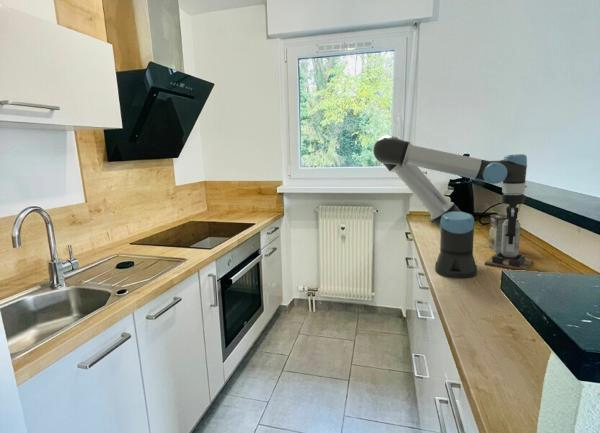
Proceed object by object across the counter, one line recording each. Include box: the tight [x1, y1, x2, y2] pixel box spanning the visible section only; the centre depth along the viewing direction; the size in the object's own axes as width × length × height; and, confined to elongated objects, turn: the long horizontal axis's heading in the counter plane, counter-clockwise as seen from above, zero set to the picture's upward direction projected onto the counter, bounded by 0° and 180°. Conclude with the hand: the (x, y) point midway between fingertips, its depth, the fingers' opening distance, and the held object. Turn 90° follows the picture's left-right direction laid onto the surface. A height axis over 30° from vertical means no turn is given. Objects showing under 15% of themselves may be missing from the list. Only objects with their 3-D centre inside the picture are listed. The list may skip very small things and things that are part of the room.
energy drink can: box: [501, 219, 521, 258], centre depth 129 cm, size 6×6×15 cm
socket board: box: [483, 251, 534, 271], centre depth 131 cm, size 14×14×4 cm
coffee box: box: [488, 214, 507, 253], centre depth 149 cm, size 9×6×16 cm
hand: (509, 248), depth 130 cm, fingers closed on energy drink can, 6 cm apart
